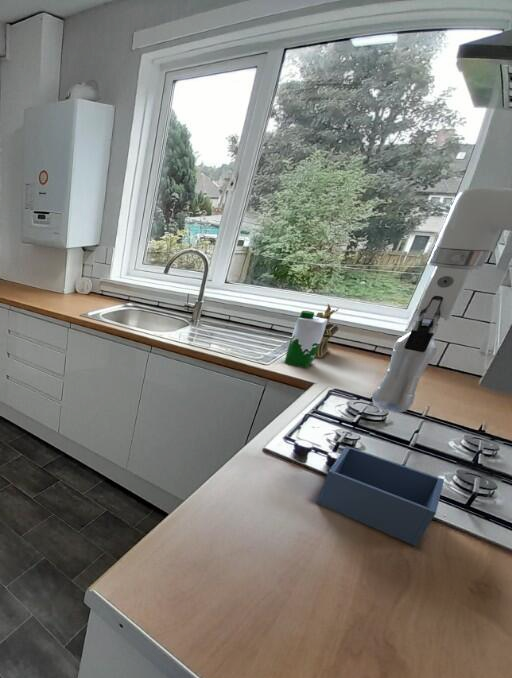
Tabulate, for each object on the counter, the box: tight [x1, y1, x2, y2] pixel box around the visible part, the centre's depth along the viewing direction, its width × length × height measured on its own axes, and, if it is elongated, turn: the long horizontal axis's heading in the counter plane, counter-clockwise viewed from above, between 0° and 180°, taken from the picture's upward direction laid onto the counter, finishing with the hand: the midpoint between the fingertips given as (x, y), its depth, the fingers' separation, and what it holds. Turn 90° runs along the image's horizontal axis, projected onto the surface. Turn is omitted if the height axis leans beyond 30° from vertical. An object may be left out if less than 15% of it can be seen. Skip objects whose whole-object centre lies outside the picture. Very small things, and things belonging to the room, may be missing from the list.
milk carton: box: [284, 310, 328, 369], centre depth 155 cm, size 9×9×20 cm
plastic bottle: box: [371, 320, 440, 413], centre depth 88 cm, size 6×7×20 cm
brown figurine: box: [314, 303, 340, 358], centre depth 169 cm, size 20×10×20 cm, turn 133°
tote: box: [315, 445, 445, 547], centre depth 83 cm, size 16×15×8 cm
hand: (416, 345), depth 86 cm, fingers closed on plastic bottle, 6 cm apart
